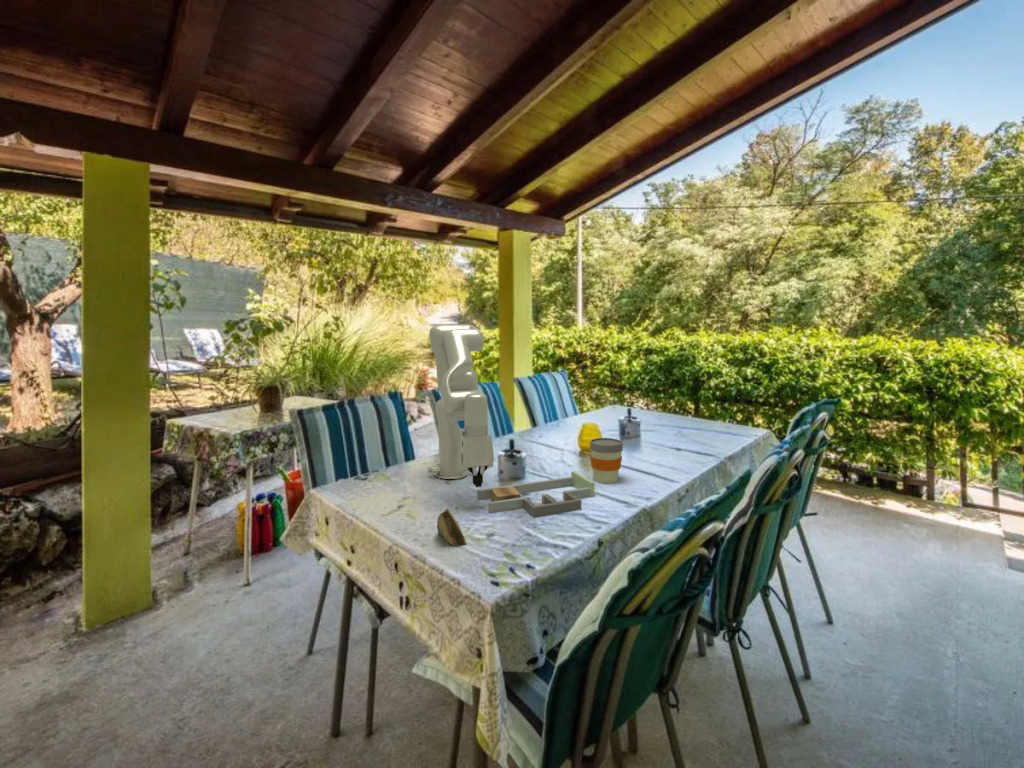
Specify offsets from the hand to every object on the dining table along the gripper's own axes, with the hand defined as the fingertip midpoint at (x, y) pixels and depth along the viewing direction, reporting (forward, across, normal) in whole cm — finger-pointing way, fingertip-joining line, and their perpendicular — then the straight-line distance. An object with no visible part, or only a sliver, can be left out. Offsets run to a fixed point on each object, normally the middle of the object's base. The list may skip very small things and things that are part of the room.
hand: (477, 485), depth 156 cm
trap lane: (+7, +21, -3) cm, 23 cm away
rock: (+8, -14, -19) cm, 25 cm away
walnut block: (+8, +10, +1) cm, 13 cm away
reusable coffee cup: (+7, +54, +8) cm, 55 cm away
